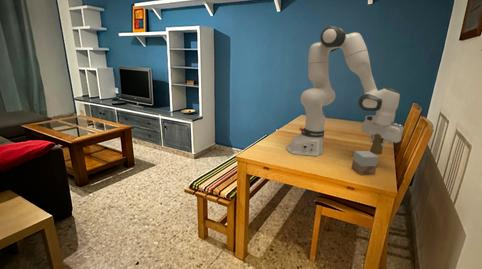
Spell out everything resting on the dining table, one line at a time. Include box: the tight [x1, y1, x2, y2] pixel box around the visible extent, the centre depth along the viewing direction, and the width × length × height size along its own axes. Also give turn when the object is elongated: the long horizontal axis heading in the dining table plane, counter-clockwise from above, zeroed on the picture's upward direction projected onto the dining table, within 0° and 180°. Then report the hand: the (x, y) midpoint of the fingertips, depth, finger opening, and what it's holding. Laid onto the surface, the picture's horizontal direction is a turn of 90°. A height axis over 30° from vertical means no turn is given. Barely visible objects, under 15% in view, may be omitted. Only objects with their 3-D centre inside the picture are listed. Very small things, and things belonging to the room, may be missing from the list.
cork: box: [369, 134, 385, 156], centre depth 134 cm, size 6×6×11 cm
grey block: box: [352, 150, 379, 166], centre depth 128 cm, size 8×8×5 cm
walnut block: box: [351, 159, 378, 176], centre depth 129 cm, size 8×8×5 cm
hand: (377, 144), depth 135 cm, fingers closed on cork, 5 cm apart
